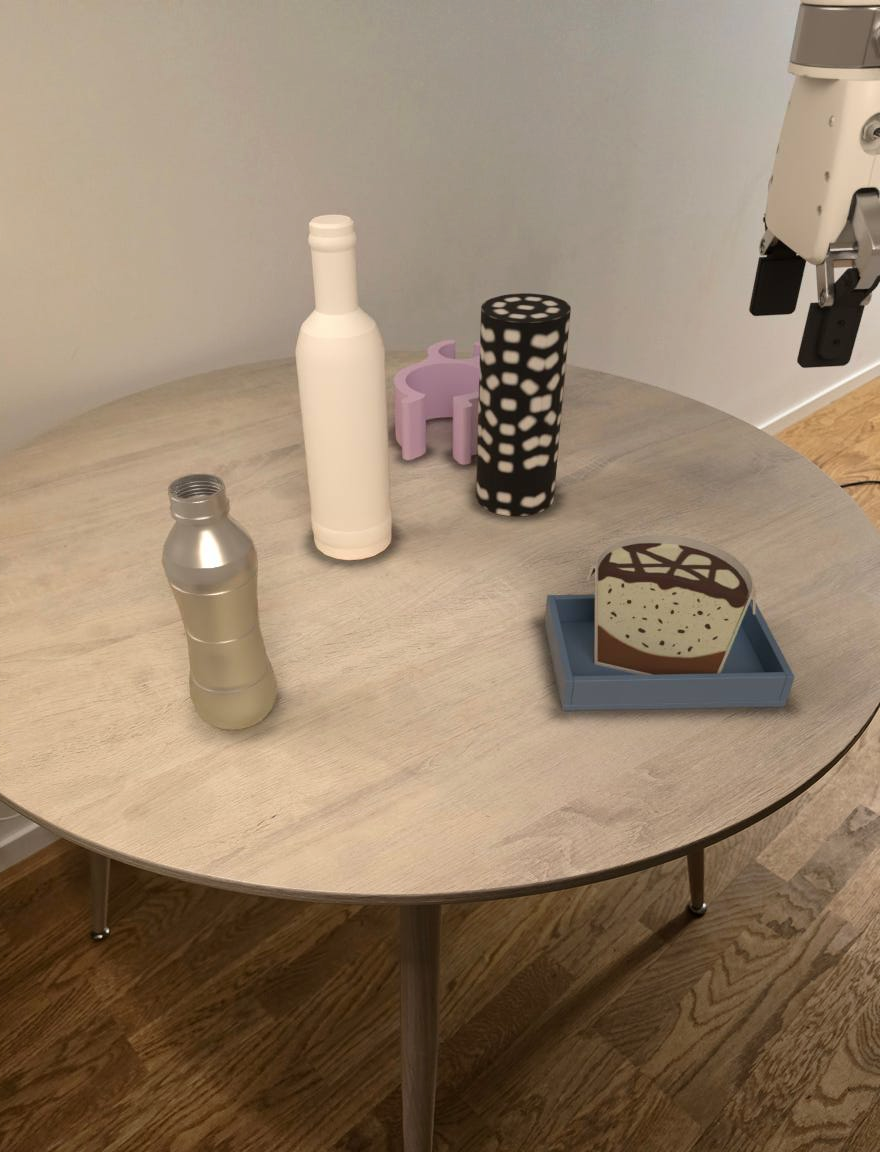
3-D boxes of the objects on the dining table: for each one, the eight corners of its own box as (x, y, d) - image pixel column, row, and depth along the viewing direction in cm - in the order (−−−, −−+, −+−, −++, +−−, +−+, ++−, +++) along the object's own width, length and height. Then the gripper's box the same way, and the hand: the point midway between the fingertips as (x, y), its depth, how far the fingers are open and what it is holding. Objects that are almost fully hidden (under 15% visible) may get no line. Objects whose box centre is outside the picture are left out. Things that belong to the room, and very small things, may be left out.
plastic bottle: (221, 677, 74) (178, 456, 61) (295, 695, 72) (265, 471, 59) (179, 728, 69) (122, 501, 57) (256, 750, 67) (215, 519, 55)
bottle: (389, 562, 86) (376, 232, 68) (308, 561, 87) (273, 233, 68) (394, 519, 93) (384, 206, 74) (319, 519, 93) (290, 207, 74)
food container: (741, 649, 74) (769, 547, 67) (732, 696, 69) (761, 591, 63) (593, 617, 78) (607, 518, 71) (576, 660, 73) (589, 557, 67)
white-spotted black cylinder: (465, 508, 94) (468, 317, 82) (489, 473, 100) (496, 289, 88) (541, 522, 91) (557, 327, 79) (562, 485, 97) (580, 298, 85)
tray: (742, 619, 78) (749, 590, 76) (785, 707, 69) (795, 676, 67) (544, 623, 78) (547, 594, 76) (562, 711, 69) (566, 681, 68)
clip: (418, 389, 119) (417, 337, 114) (512, 395, 116) (514, 343, 112) (382, 458, 104) (379, 401, 99) (489, 466, 101) (491, 409, 97)
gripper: (1012, 54, 44) (907, 385, 55) (865, 24, 58) (804, 294, 68) (859, 63, 44) (783, 392, 55) (748, 31, 58) (705, 300, 68)
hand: (795, 337), depth 62 cm, fingers open, 9 cm apart
